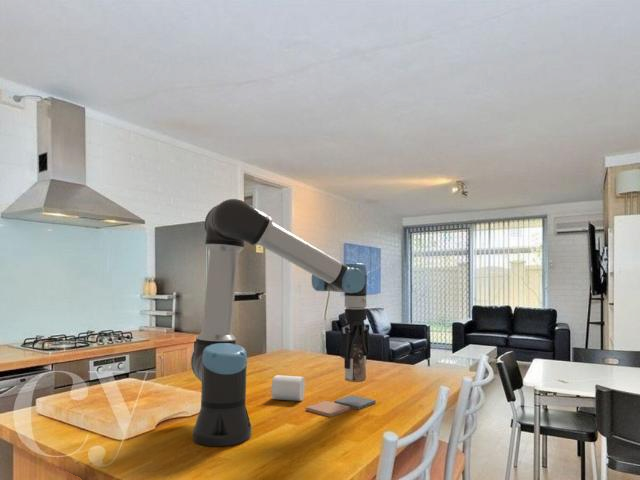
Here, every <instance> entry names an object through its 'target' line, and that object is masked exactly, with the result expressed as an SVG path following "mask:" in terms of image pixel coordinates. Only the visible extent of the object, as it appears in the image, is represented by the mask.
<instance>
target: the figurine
mask: <svg viewBox="0 0 640 480" xmlns="http://www.w3.org/2000/svg"><path fill="white" fill-rule="evenodd" d="M361 347H362V344H359V345H358V344H356V343H354V346H353V351H352V356H351V359H353V379H348V378H345V377H344V381H346V382H348V383H349V382H351V383H363V382H365V381H366V379H367V370H366V371H365V365H364V361H363V351H362V350H361V349H360V348H361ZM359 355H360V357H359Z"/></svg>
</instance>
